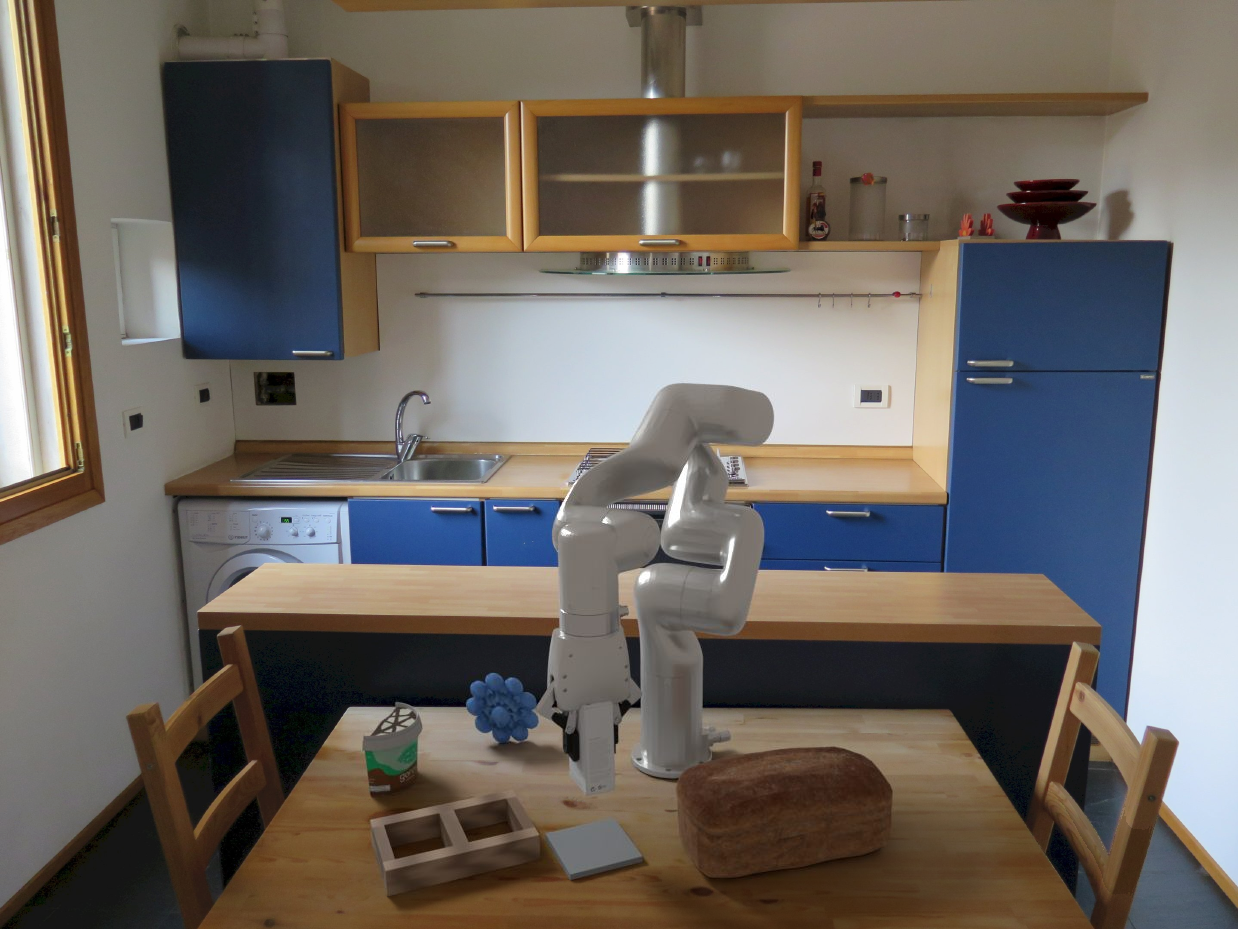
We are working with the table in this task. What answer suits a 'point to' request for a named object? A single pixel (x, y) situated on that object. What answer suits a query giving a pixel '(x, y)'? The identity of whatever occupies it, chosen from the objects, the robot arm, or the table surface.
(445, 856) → the board
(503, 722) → the blue knobbed wheel
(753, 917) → the table surface
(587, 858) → the mat
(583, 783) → the skincare box
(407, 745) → the food container
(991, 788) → the table surface
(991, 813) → the table surface
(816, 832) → the bread
